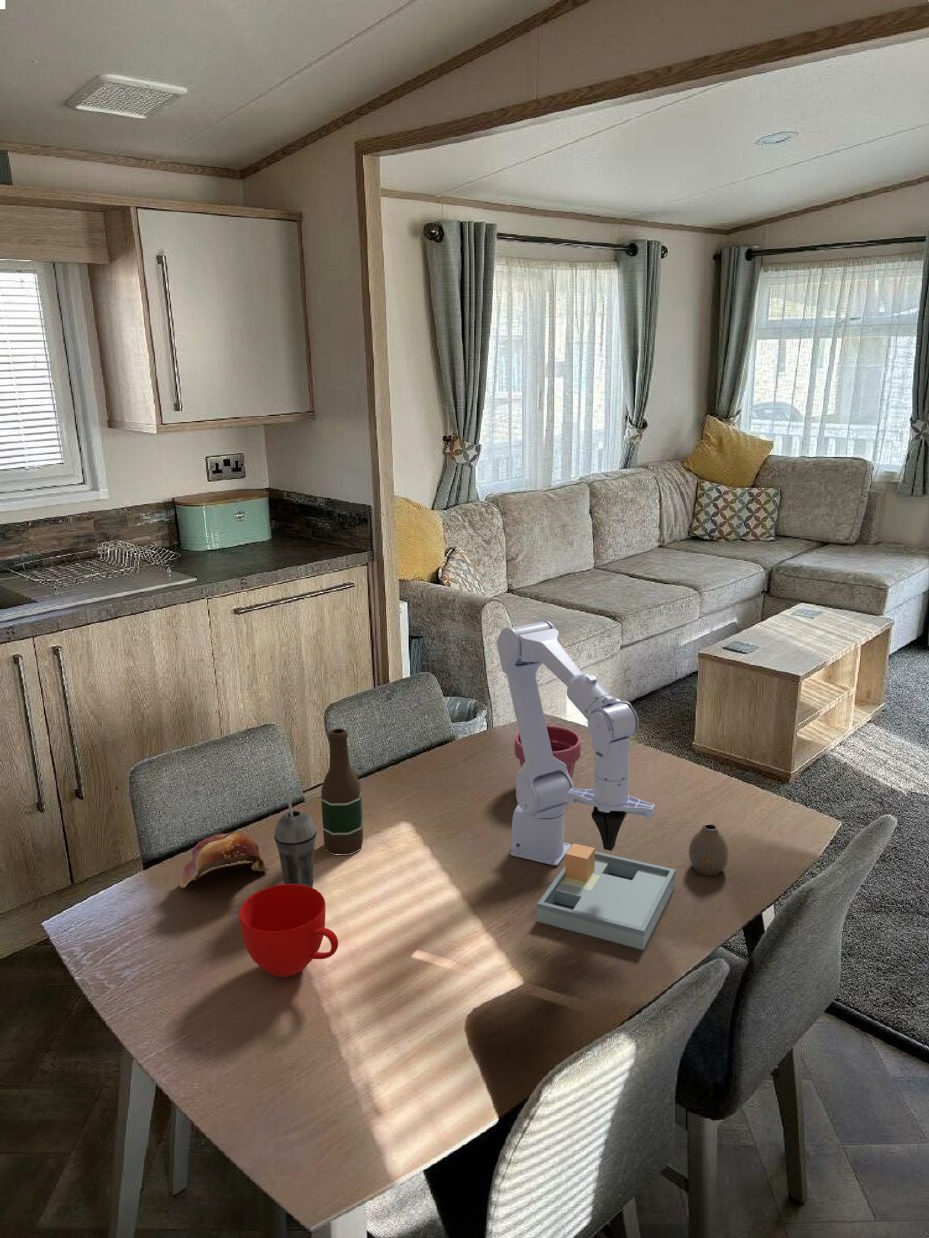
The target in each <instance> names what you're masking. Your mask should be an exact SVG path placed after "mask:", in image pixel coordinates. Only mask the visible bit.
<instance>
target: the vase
mask: <svg viewBox="0 0 929 1238" xmlns="http://www.w3.org/2000/svg"><path fill="white" fill-rule="evenodd" d="M688 857H689V860H690V861H689V863H690V864H691V866H692V867H693V869H695V871H696V872H697V873H699V874H700V875H704V876H710V877H711V876H716V875H718V874H720V873H721V872H723V870H725V868H726V866H727V865H728V864H727V863H728V861H729V847H728V844H727V841H726V839H725V837H724V836H723V835H722V834H721V832H720V831H719V829H718V826H717V825H716V824H713V823H705V824H703V826H702V827H701V829H700V830H699V831H698V832H697V833H696V834H695V835H694V836H693V837H692V838H691V841H690V843H689V846H688Z"/></svg>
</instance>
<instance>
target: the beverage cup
mask: <svg viewBox="0 0 929 1238" xmlns="http://www.w3.org/2000/svg"><path fill="white" fill-rule="evenodd" d="M286 798H287V804H288V810H289V811H288V812H286V813H284V814H283V815H282V816H281V817H280V818H279V819H278V821H277V823H276V825H275V828H274V836H273V838H274V841H275V844H276V849H277V851H278V856H279V861H280V867H281V871H282V878H283V879H282V880H283V885H284V884H299V885H305V886H309V887H312V888H313V887H314V872H315V871H314V866H315V862H314V861H315V844H316V837H317V833H318V832H317V830H316V829H317V828H316V826H315V823H314V821H313V819H312V817H311V816H309V815H308V814H307V813H305V812H303V811H300V810H293V806H292V798H291V794H290V791H287V792H286Z"/></svg>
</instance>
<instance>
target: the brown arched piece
mask: <svg viewBox="0 0 929 1238" xmlns="http://www.w3.org/2000/svg"><path fill="white" fill-rule="evenodd" d="M259 850H260V849H259V846H258V844H257V842H255V841H254V840H253V839H251V838H250V837H249V836H247V835H246V834H245V833H242V832H241V833H238V832H236V833H235V832H234V831H229V832H228V833H223V832H222V833H221V832H220V833H213V835H212V836H208V837H206V838H204V839H202V840H201V841H198V842H197V844H196V845H195V846H194V847H193V849H192V853H191V855H192V860H191V861H190V862H188V863H187V864H186V865H185V866H184V867H183V870H182V879H183V883H182V884H184V887H183V888H186V886H187V885H188V884H189V883H191V881H195V880H194V879H197V878H198V877H199V878H200V876H201V875H202V874H203V873H205V872H207V871H209V870H211V869H214V868H213V867H217V868H219V867H218V866H220V867H222V866H221V865H223V866H226V865H225V864H229V865H232V864H235V863H239V862H238V861H240V862H248V861H252V862H251V869H252V870H253V871H255V872H267V871H266V868H267V867H266V865H265V863H264V860H263V859H262V857H261V855H260V852H259ZM244 860H246V861H244ZM231 863H232V864H231ZM265 867H266V868H265ZM210 868H211V869H210ZM208 869H209V870H208ZM206 870H207V871H206ZM204 871H205V872H204ZM199 878H198V879H199ZM198 879H197V880H198ZM183 888H182V889H183Z"/></svg>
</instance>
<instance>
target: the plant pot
mask: <svg viewBox="0 0 929 1238" xmlns="http://www.w3.org/2000/svg"><path fill="white" fill-rule="evenodd" d="M546 726H547V731H548V736H549V740H550V745H551V749H552V754H553V757H555V758H556V759H558V760H560V761H562V762H563V763H565V764H566V767H567V771H568V774H569V776H570V778H571V779H573V774H574V770H575V765H576V762H578V760H579V759H580V757H581V751H582V747H581V746H582V745H581V744H582V743H581V737H580V736H579V734H578V733H576V732H575V731H573V730H571V729H569V728H565V727H562V726H556V725H546ZM514 755H515V757H516V759H518V761H519V764H520V765H519V766H520V768H521V767H522V766H523V764H524V763H525V757H524V752H523V748H522V743H521V739H520V734H519V731H518V732H517V733H516V735H515V737H514ZM547 774H550V773H547ZM547 774H543V775H547ZM543 775H540V776H543ZM540 776H537V777H540ZM537 777H536V778H537Z"/></svg>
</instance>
